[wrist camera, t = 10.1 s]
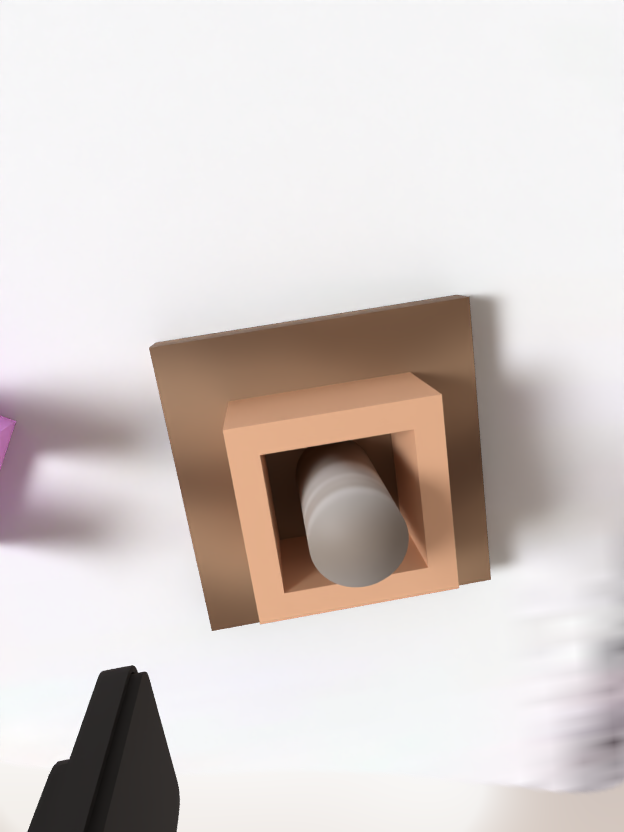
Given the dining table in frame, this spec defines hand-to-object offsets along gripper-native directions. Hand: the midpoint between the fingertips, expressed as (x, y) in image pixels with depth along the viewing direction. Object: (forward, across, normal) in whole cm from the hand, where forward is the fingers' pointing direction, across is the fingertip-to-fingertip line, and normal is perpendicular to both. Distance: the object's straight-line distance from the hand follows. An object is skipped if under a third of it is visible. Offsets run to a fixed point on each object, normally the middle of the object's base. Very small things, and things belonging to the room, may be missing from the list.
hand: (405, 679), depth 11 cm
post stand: (+14, 0, +1) cm, 14 cm away
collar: (+13, 0, +1) cm, 13 cm away
